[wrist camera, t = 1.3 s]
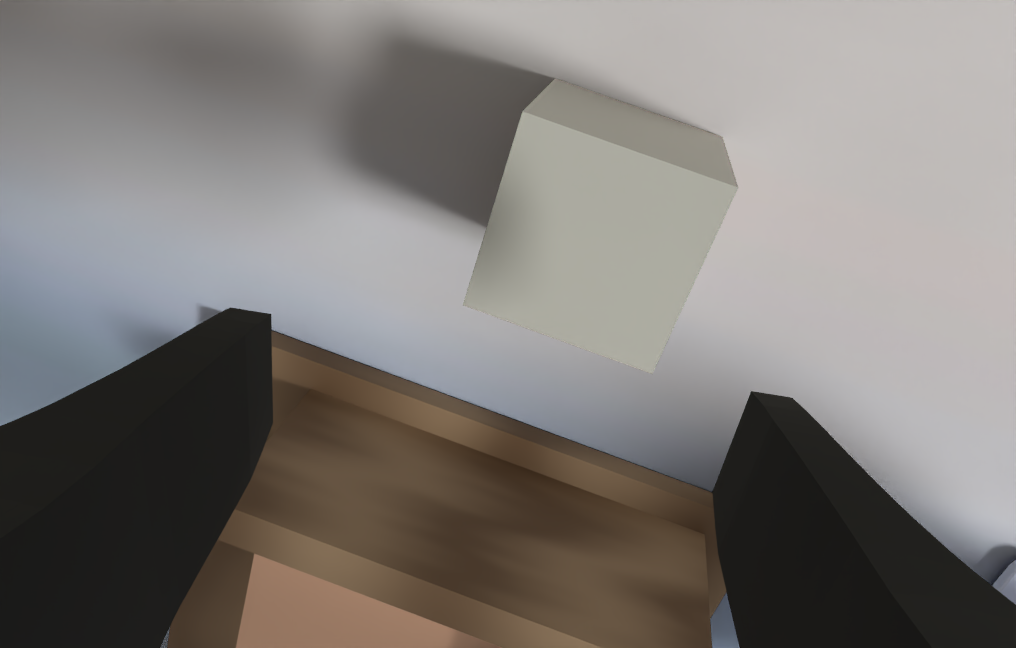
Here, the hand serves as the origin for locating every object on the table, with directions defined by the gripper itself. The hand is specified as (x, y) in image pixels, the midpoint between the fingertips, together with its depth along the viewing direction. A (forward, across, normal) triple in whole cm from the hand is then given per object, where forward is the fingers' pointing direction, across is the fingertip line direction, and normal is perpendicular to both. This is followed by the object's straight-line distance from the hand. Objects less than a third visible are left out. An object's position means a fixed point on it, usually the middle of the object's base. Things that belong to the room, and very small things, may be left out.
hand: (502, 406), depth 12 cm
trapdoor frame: (+9, +2, +17) cm, 20 cm away
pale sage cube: (+10, -2, 0) cm, 11 cm away
